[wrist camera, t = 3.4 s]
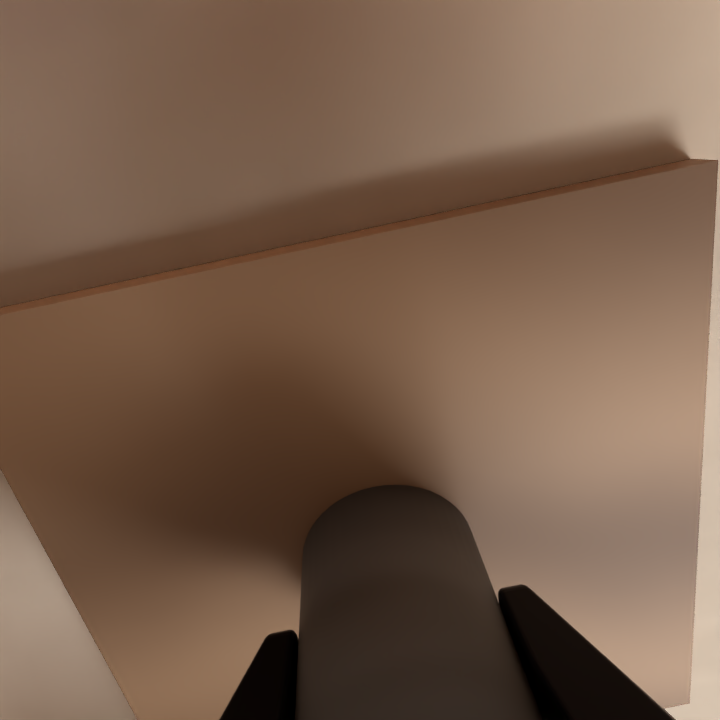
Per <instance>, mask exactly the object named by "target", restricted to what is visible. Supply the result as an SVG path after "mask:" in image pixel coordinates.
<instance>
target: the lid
mask: <svg viewBox="0 0 720 720" xmlns="http://www.w3.org/2000/svg"><path fill="white" fill-rule="evenodd" d="M717 173H718V160H702V159H688V160H683V161H679V162H674V163H669V164H665V165H660V166H655V167H651V168H646V169H641V170H637V171H632V172H628V173H623V174H618V175H614V176H609V177H604V178H600V179H595V180H590V181H586V182H581V183H577V184H572V185H567V186H563V187H558V188H553V189H549V190H544V191H539V192H535V193H530V194H526V195H521V196H516V197H512V198H507V199H502V200H498V201H493V202H488V203H484V204H479V205H474V206H470V207H465V208H461V209H456V210H451V211H447V212H442V213H437V214H433V215H428V216H423V217H419V218H414V219H410V220H405V221H400V222H396V223H391V224H386V225H382V226H377V227H372V228H368V229H363V230H359V231H354V232H349V233H345V234H340V235H335V236H331V237H326V238H321V239H317V240H312V241H308V242H303V243H298V244H294V245H289V246H284V247H280V248H275V249H270V250H266V251H261V252H257V253H252V254H247V255H243V256H238V257H233V258H229V259H224V260H219V261H215V262H210V263H206V264H201V265H196V266H192V267H187V268H182V269H178V270H173V271H168V272H164V273H159V274H155V275H150V276H145V277H141V278H136V279H131V280H127V281H122V282H117V283H113V284H108V285H104V286H99V287H94V288H90V289H85V290H80V291H76V292H71V293H66V294H62V295H57V296H53V297H48V298H43V299H39V300H34V301H29V302H25V303H20V304H15V305H11V306H6V307H2V308H0V469H1V470H2V472H3V474H4V476H5V478H6V480H7V481H8V483H9V485H10V487H11V489H12V491H13V492H14V494H15V496H16V498H17V500H18V502H19V503H20V505H21V507H22V509H23V511H24V513H25V514H26V516H27V518H28V520H29V522H30V524H31V525H32V527H33V529H34V531H35V533H36V535H37V536H38V538H39V540H40V542H41V544H42V546H43V547H44V549H45V551H46V553H47V555H48V557H49V558H50V560H51V562H52V564H53V566H54V568H55V569H56V571H57V573H58V575H59V577H60V579H61V580H62V582H63V584H64V586H65V588H66V590H67V591H68V593H69V595H70V597H71V599H72V600H73V602H74V604H75V606H76V608H77V610H78V611H79V613H80V615H81V617H82V619H83V621H84V622H85V624H86V626H87V628H88V630H89V632H90V633H91V635H92V637H93V639H94V641H95V643H96V644H97V646H98V648H99V650H100V652H101V654H102V655H103V657H104V659H105V661H106V663H107V665H108V666H109V668H110V670H111V672H112V674H113V676H114V677H115V679H116V681H117V683H118V685H119V687H120V688H121V690H122V692H123V694H124V696H125V698H126V699H127V701H128V703H129V705H130V707H131V709H132V710H133V712H134V714H135V716H136V718H137V720H219V719H220V717H221V716H222V714H223V712H224V710H225V708H226V707H227V705H228V703H229V701H230V700H231V698H232V696H233V694H234V692H235V691H236V689H237V687H238V685H239V684H240V682H241V680H242V678H243V676H244V675H245V673H246V671H247V669H248V667H249V666H250V664H251V662H252V660H253V659H254V657H255V655H256V653H257V651H258V650H259V648H260V646H261V644H262V642H263V641H264V639H265V638H266V636H268V635H269V634H271V633H275V632H280V631H285V630H294V631H295V633H296V634H297V636H298V639H299V640H298V660H297V681H296V702H295V720H543V717H542V715H541V712H540V709H539V707H538V704H537V702H536V699H535V696H534V694H533V691H532V689H531V686H530V683H529V681H528V678H527V675H526V673H525V670H524V668H523V665H522V662H521V660H520V657H519V654H518V652H517V649H516V647H515V644H514V641H513V639H512V636H511V634H510V631H509V628H508V626H507V623H506V620H505V618H504V615H503V613H502V610H501V607H500V605H499V600H498V591H499V590H500V589H501V588H504V587H509V586H514V585H520V584H523V585H526V586H528V587H529V588H530V589H531V590H532V591H534V592H535V593H536V594H537V595H538V596H539V597H540V598H541V599H542V600H544V601H545V602H546V603H547V604H548V605H549V606H550V607H551V608H552V609H554V610H555V611H556V612H557V613H558V614H559V615H560V616H561V617H562V618H564V619H565V620H566V621H567V622H568V623H569V624H570V625H571V626H572V627H573V628H575V629H576V630H577V631H578V632H579V633H580V634H581V635H582V636H583V637H585V638H586V639H587V640H588V641H589V642H590V643H591V644H592V645H593V646H595V647H596V648H597V649H598V650H599V651H600V652H601V653H602V654H603V655H605V656H606V657H607V658H608V659H609V660H610V661H611V662H612V663H613V664H615V665H616V666H617V667H618V668H619V669H620V670H621V671H622V672H623V673H625V674H626V675H627V676H628V677H629V678H630V679H631V680H632V681H633V682H634V683H636V684H637V685H638V686H639V687H640V688H641V689H642V690H643V691H644V692H646V693H647V694H648V695H649V696H650V697H651V698H652V699H653V700H654V701H656V702H657V703H658V704H659V705H660V706H661V707H662V708H668V707H674V706H679V705H684V704H689V703H690V685H691V666H692V647H693V628H694V609H695V590H696V571H697V552H698V533H699V514H700V495H701V476H702V457H703V438H704V419H705V400H706V382H707V363H708V344H709V325H710V306H711V287H712V268H713V249H714V230H715V211H716V192H717Z"/></svg>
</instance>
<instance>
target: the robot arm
mask: <svg viewBox="0 0 720 720" xmlns="http://www.w3.org/2000/svg"><path fill="white" fill-rule="evenodd" d="M498 600H499V605H500V607H501V610H502V613H503V615H504V618H505V620H506V623H507V626H508V628H509V631H510V634H511V636H512V639H513V641H514V644H515V647H516V649H517V652H518V654H519V657H520V660H521V662H522V665H523V668H524V670H525V673H526V675H527V678H528V681H529V683H530V686H531V689H532V691H533V694H534V696H535V699H536V702H537V704H538V707H539V709H540V712H541V715H542V717H543V720H676V719H674V718H673V717H672V716H671V715H670V714H669V713H668V712H667V711H666V710H664V709H663V708H662V707H661V706H660V705H659V704H658V703H657V702H656V701H654V700H653V699H652V698H651V697H650V696H649V695H648V694H647V693H646V692H644V691H643V690H642V689H641V688H640V687H639V686H638V685H637V684H636V683H634V682H633V681H632V680H631V679H630V678H629V677H628V676H627V675H626V674H625V673H623V672H622V671H621V670H620V669H619V668H618V667H617V666H616V665H615V664H613V663H612V662H611V661H610V660H609V659H608V658H607V657H606V656H605V655H603V654H602V653H601V652H600V651H599V650H598V649H597V648H596V647H595V646H593V645H592V644H591V643H590V642H589V641H588V640H587V639H586V638H585V637H583V636H582V635H581V634H580V633H579V632H578V631H577V630H576V629H575V628H573V627H572V626H571V625H570V624H569V623H568V622H567V621H566V620H565V619H564V618H562V617H561V616H560V615H559V614H558V613H557V612H556V611H555V610H554V609H552V608H551V607H550V606H549V605H548V604H547V603H546V602H545V601H544V600H542V599H541V598H540V597H539V596H538V595H537V594H536V593H535V592H534V591H532V590H531V589H530V588H529V587H528V586H526V585H523V584H520V585H514V586H509V587H504V588H501V589H500V590H499V591H498ZM298 640H299V639H298V636H297V634H296V633H295V631H294V630H285V631H280V632H275V633H271V634H269V635H268V636H266V638H265V639H264V641H263V642H262V644H261V646H260V648H259V650H258V651H257V653H256V655H255V657H254V659H253V660H252V662H251V664H250V666H249V667H248V669H247V671H246V673H245V675H244V676H243V678H242V680H241V682H240V684H239V685H238V687H237V689H236V691H235V692H234V694H233V696H232V698H231V700H230V701H229V703H228V705H227V707H226V708H225V710H224V712H223V714H222V716H221V717H220V719H219V720H295V702H296V681H297V660H298Z"/></svg>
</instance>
